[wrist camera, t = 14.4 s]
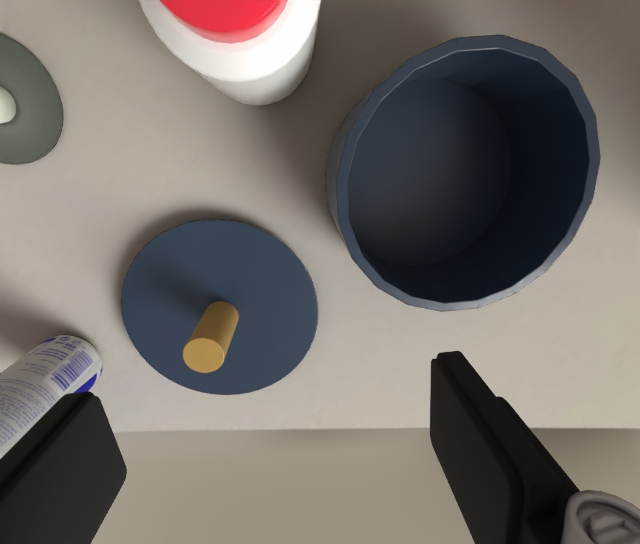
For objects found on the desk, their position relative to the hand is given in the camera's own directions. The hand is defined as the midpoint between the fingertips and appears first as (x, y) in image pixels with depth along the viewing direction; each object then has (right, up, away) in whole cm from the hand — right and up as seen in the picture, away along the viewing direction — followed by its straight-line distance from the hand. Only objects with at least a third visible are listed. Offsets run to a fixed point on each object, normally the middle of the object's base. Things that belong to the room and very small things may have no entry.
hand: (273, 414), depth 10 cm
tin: (+9, +11, +16) cm, 21 cm away
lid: (-6, +1, +18) cm, 19 cm away
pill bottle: (-3, +19, +12) cm, 23 cm away
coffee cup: (-20, +15, +13) cm, 28 cm away
